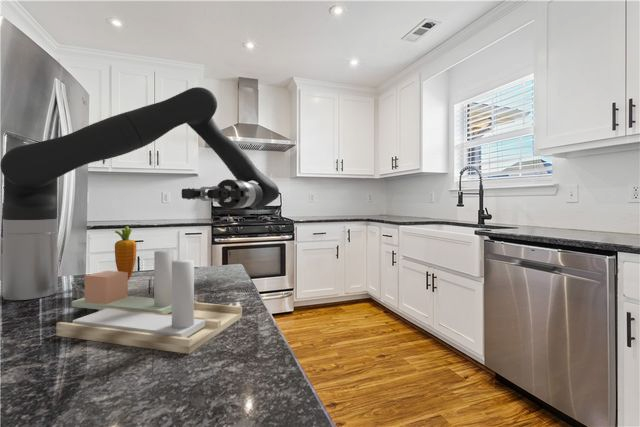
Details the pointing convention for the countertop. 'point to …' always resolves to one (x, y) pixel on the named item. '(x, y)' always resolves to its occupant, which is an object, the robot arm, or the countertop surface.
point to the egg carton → (78, 290)
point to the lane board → (214, 319)
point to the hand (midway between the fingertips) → (199, 193)
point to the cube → (106, 286)
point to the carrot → (125, 252)
